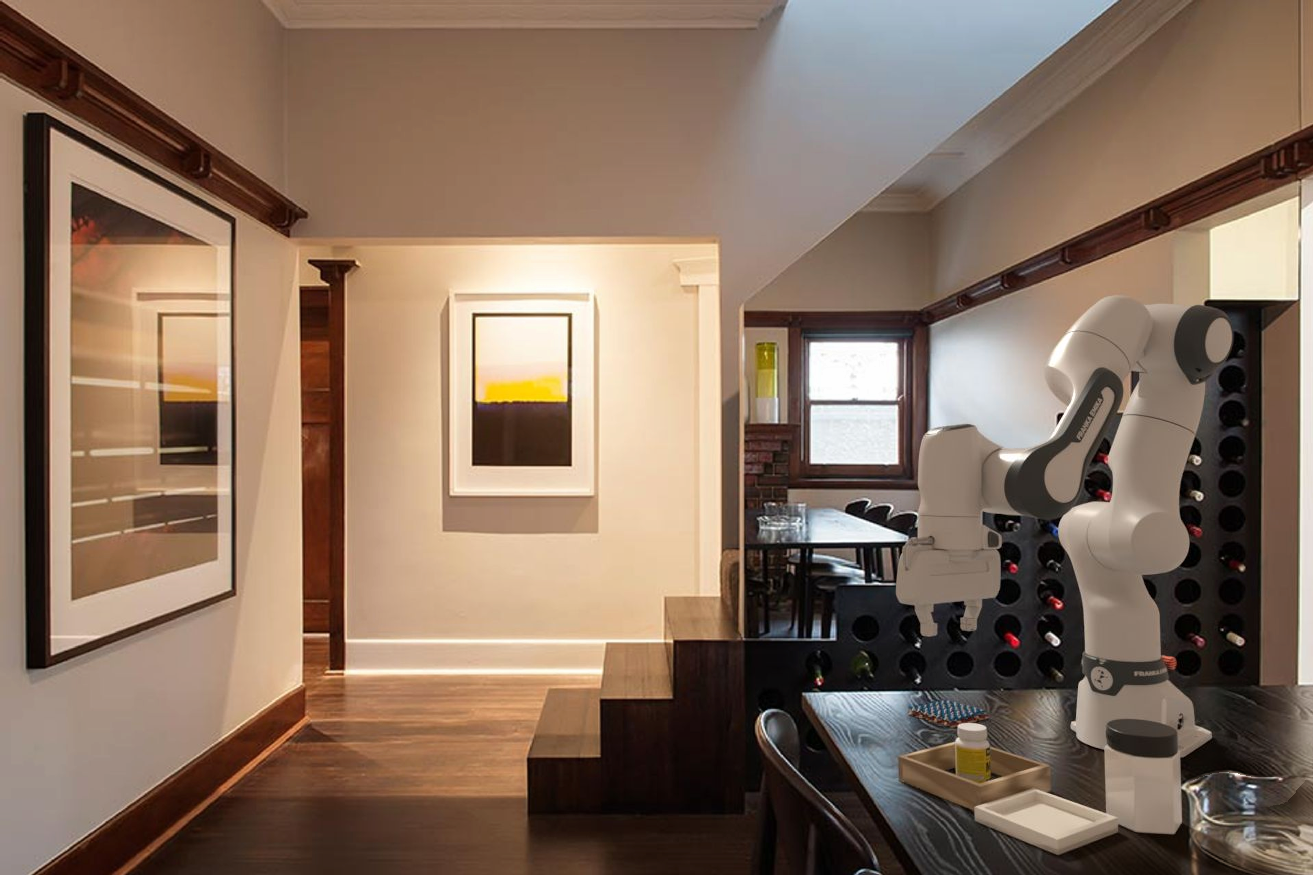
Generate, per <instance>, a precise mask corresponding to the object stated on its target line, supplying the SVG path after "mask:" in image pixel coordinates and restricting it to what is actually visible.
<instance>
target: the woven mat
mask: <svg viewBox="0 0 1313 875" xmlns="http://www.w3.org/2000/svg"><path fill="white" fill-rule="evenodd" d="M908 709H910V710H908V712H907V714H908V715H909V716H911V717H912V716H913V717H914V716H915V718H919V719H921V720H923V719H924V720H925V721H928V722H930V723H932V722H933V723H935V724H939V725H943V726H945V727H950V728H956V727H957V728H958V725H959V724H962V723H976V722H979V721H983V720H987V719H989V714H987V710H985V709H982V708H978V707H974V706H973V705H971V706H970V705H968V704H962V703H960V702H956V701H953V700H951V701H950V700H949V699H944V700H942V699H937V701H936V700H932V701H931V702H928V701H927V702H925V704H924V703H920V704H919V705H917V704H915V705H914V706H908Z"/></svg>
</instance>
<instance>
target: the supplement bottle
mask: <svg viewBox="0 0 1313 875" xmlns="http://www.w3.org/2000/svg"><path fill="white" fill-rule="evenodd" d="M956 733H957V736H958V737H957V738H956V739H955V741H954V742H955V757H956V767H955V775H957V776H960V777H963V778H966V779H968V780H971V781H974V782H977V783H979V784H980V783H983V782H987V781H990V780H992V779H991V776H992V775H991V774H992V773H991V772H990V747H991V745H990V742H989V741H988V740H987V739H988V729H987V727H986V725H983V724H980V723H976V722H972V723H962V724H959V725H958V726H957V732H956Z"/></svg>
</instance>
